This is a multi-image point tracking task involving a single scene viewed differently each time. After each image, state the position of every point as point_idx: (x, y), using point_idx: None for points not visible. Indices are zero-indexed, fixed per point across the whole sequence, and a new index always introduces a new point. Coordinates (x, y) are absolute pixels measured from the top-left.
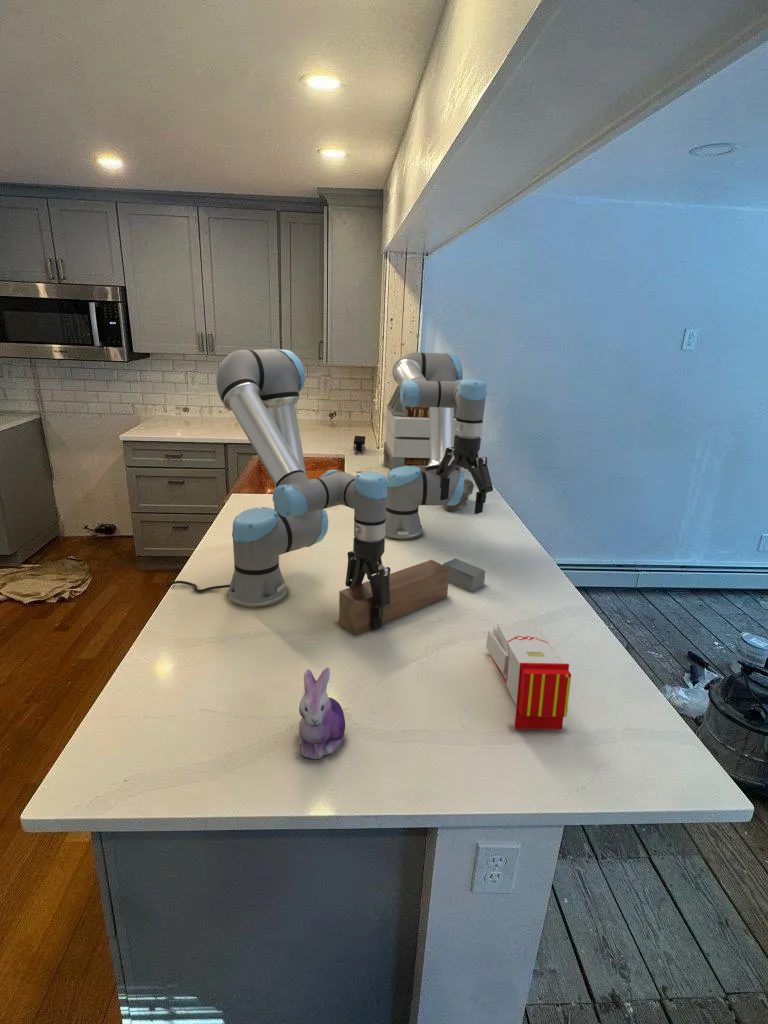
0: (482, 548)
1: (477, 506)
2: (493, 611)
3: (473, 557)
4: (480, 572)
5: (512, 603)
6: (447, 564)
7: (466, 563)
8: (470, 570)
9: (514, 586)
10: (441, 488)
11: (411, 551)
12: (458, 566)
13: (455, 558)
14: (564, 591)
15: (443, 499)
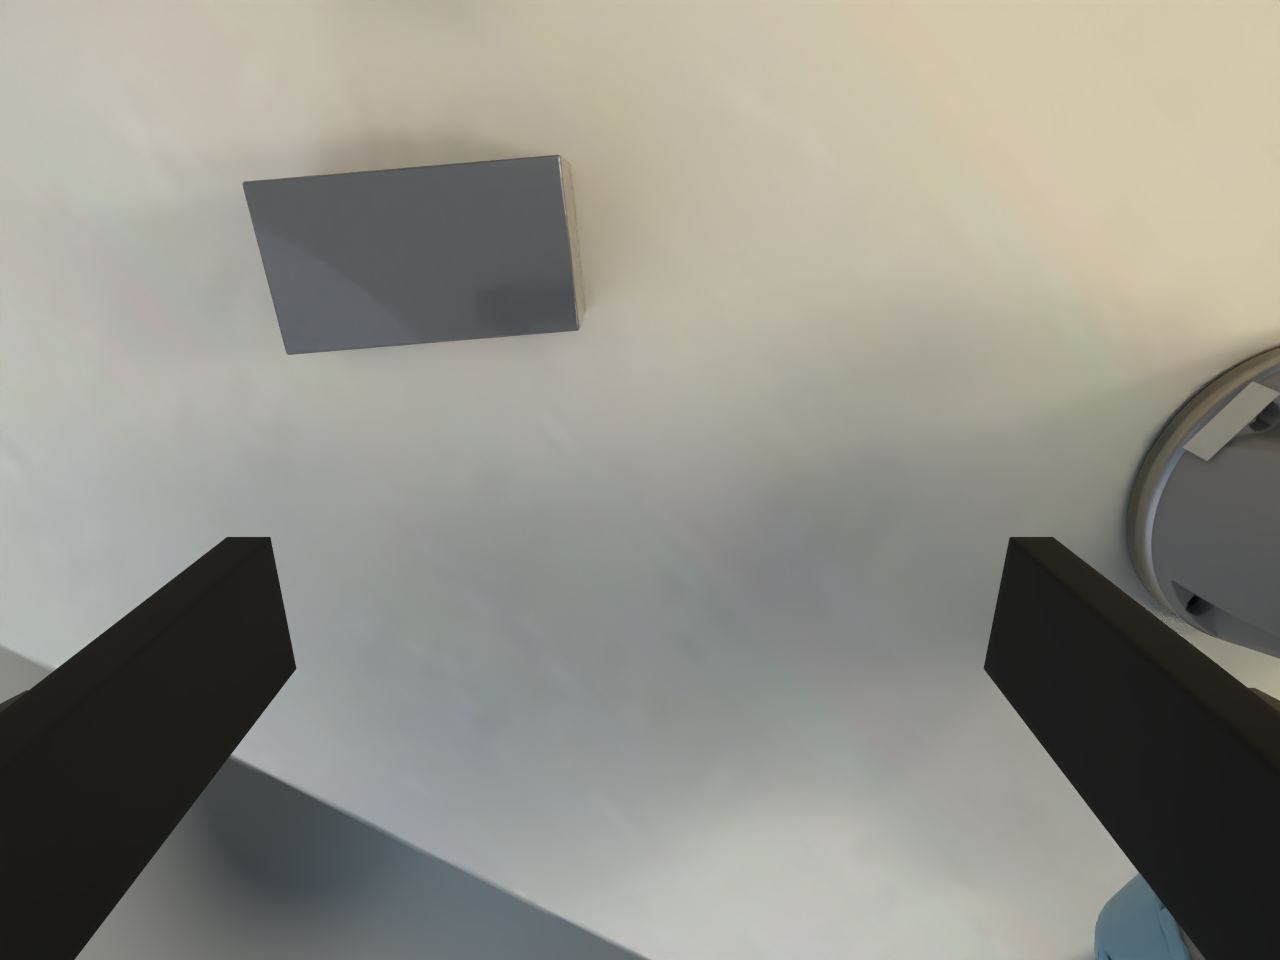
0: (730, 717)
1: (140, 619)
2: (8, 88)
3: (677, 587)
4: (273, 290)
5: (59, 294)
6: (524, 174)
7: (457, 326)
8: (338, 249)
9: (242, 485)
10: (1200, 661)
11: (1022, 322)
12: (447, 226)
13: (574, 324)
14: (71, 655)
15: (1009, 577)
